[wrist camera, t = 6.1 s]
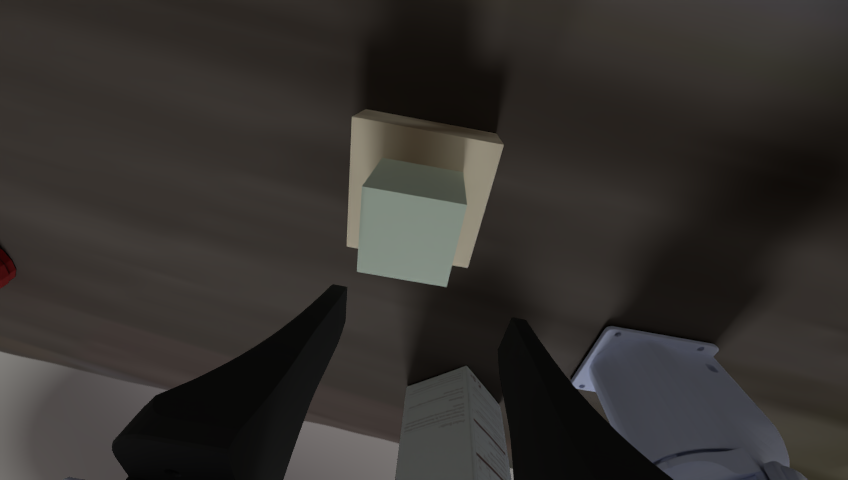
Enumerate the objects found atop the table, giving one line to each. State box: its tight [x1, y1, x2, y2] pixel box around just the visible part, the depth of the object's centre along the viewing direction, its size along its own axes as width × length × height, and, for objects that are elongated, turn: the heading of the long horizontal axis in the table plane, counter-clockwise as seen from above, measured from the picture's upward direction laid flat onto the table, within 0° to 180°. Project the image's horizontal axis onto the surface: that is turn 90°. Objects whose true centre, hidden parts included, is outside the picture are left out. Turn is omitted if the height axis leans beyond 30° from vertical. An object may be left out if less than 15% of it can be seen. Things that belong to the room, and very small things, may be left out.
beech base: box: [347, 109, 504, 268], centre depth 19 cm, size 8×8×3 cm
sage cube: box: [357, 158, 467, 287], centre depth 16 cm, size 4×4×4 cm
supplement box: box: [395, 366, 511, 480], centre depth 26 cm, size 7×7×13 cm
